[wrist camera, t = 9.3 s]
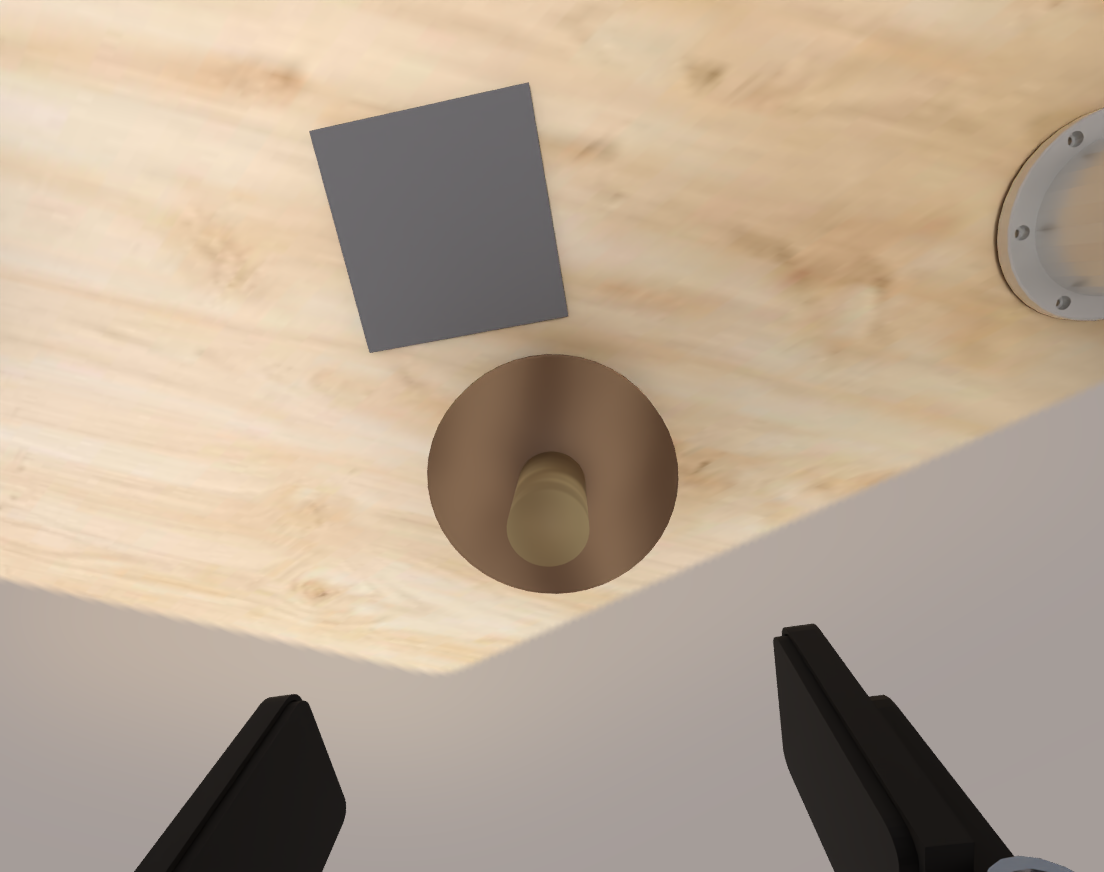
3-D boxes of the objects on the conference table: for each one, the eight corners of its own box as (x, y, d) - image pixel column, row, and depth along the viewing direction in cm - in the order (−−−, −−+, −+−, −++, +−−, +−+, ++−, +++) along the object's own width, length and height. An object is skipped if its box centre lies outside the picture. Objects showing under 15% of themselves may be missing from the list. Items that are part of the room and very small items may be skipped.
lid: (657, 333, 24) (686, 347, 18) (686, 563, 27) (719, 640, 21) (407, 378, 25) (356, 405, 19) (463, 595, 28) (434, 677, 22)
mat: (529, 86, 32) (528, 82, 31) (568, 315, 36) (568, 316, 35) (313, 133, 33) (309, 131, 33) (372, 351, 37) (369, 352, 36)
